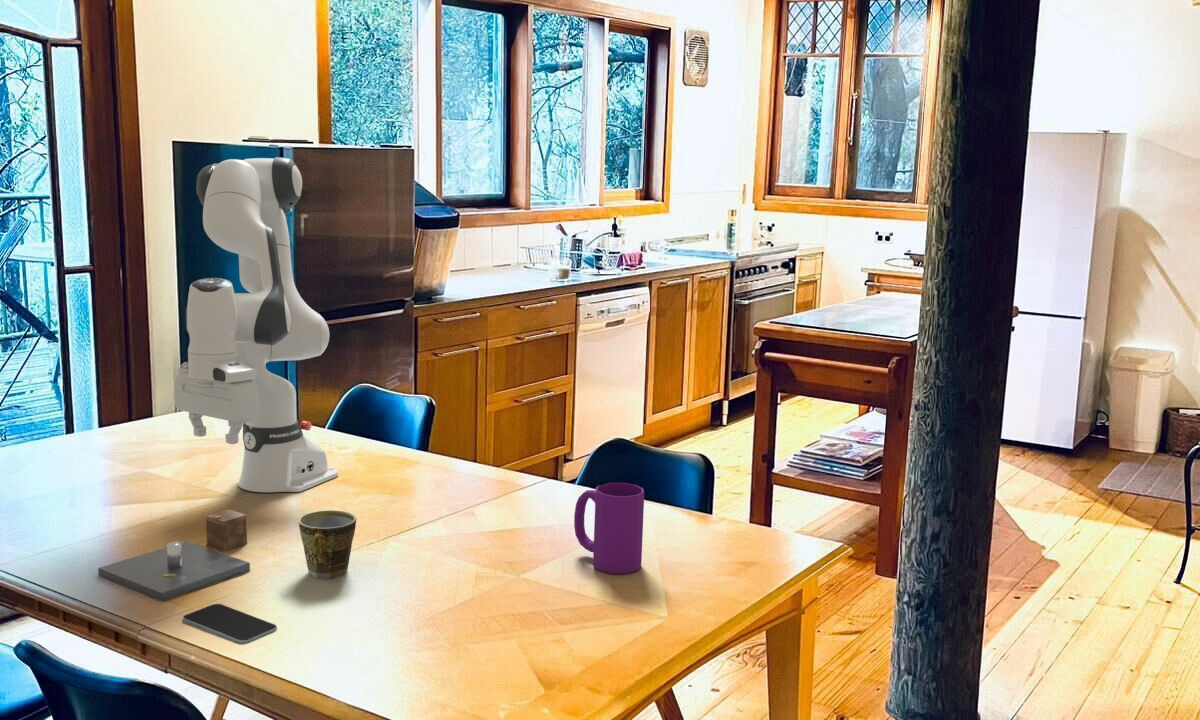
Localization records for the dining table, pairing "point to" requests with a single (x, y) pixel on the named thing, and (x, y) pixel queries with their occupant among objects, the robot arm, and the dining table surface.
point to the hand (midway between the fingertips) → (215, 439)
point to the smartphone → (229, 623)
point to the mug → (613, 527)
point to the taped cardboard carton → (226, 530)
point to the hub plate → (173, 570)
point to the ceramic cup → (327, 542)
